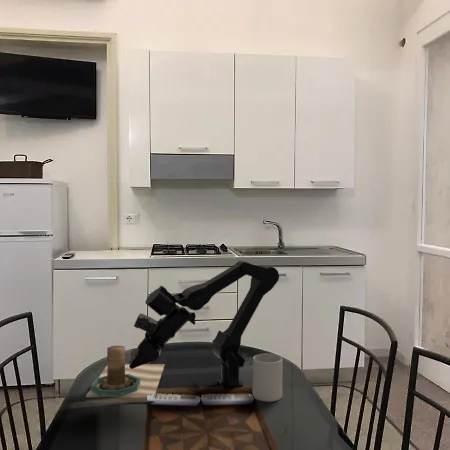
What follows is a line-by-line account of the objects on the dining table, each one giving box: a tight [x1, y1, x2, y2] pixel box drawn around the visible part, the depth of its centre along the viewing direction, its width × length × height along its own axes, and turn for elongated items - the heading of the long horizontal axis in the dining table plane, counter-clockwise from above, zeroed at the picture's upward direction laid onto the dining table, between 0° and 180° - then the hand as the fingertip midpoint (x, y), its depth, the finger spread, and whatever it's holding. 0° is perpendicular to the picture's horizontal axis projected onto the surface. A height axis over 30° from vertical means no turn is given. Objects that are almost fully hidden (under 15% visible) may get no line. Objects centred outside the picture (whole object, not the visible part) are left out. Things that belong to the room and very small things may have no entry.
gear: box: [99, 345, 133, 390], centre depth 136 cm, size 10×10×12 cm
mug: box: [251, 353, 283, 403], centre depth 135 cm, size 12×8×11 cm
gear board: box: [84, 363, 166, 403], centre depth 142 cm, size 27×19×3 cm
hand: (133, 362), depth 136 cm, fingers open, 9 cm apart
